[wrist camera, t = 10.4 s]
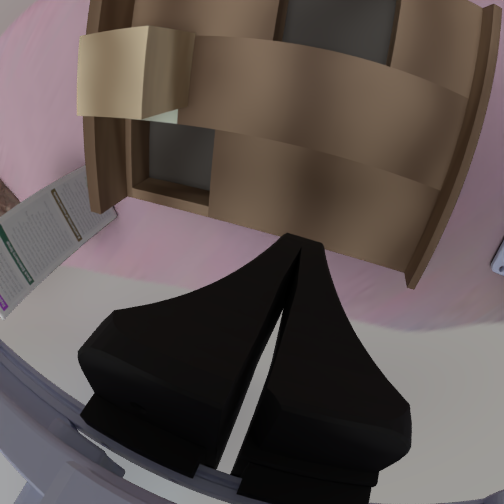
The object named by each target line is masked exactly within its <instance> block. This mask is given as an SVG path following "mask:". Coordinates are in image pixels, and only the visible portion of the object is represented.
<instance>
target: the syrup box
mask: <svg viewBox="0 0 504 504" xmlns="http://www.w3.org/2000/svg"><path fill="white" fill-rule="evenodd" d="M116 217H117V214H116V212H115V210H114V208H113V206H112V207H111V208H110V209H108V210H107V211H105V212H104V213H103V214H98V213H94V212H91V209H90V202H89V194H88V185H87V175H86V165H84V166H82V167H80V168H78V169H77V170H75V171H73V172H71V173H69V174H67V175H65V176H63V177H62V178H60V179H58V180H56V181H55V182H53V183H51V184H49V185H48V186H46V187H44V188H43V189H41V190H39V191H38V192H36V193H35V194H33V195H32V196H30V197H28V198H27V199H25V200H24V201H22V202H21V203H19V204H18V205H16V206H15V207H13V208H12V209H11V210H9V211H8V212H6V213H5V214H4V215H2V216H1V217H0V320H4V319H5V318H6V317H7V316H8V315H9V314H10V313H11V312H12V310H14V308H15V307H16V306H17V305H18V304H19V303H20V302H21V301H22V300H23V299H24V298H25V297H26V296H27V295H28V294H29V293H31V291H32V290H34V289H35V288H36V287H37V286H38V285H39V284H40V283H41V282H42V281H43V280H44V279H45V278H46V277H47V276H49V274H51V273H52V272H53V271H54V270H55V269H56V268H57V267H58V266H60V265H61V264H62V263H63V262H64V261H65V260H66V259H67V258H68V257H70V256H71V255H72V254H73V253H74V252H75V251H76V250H78V249H79V248H80V247H81V246H82V245H83V244H85V243H86V242H87V241H88V240H89V239H90V238H92V237H93V236H94V235H95V234H97V233H98V232H99V231H100V230H101V229H103V228H104V227H105V226H106V225H108V224H109V223H110V222H111V221H113V220H114V219H115V218H116Z"/></svg>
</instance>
